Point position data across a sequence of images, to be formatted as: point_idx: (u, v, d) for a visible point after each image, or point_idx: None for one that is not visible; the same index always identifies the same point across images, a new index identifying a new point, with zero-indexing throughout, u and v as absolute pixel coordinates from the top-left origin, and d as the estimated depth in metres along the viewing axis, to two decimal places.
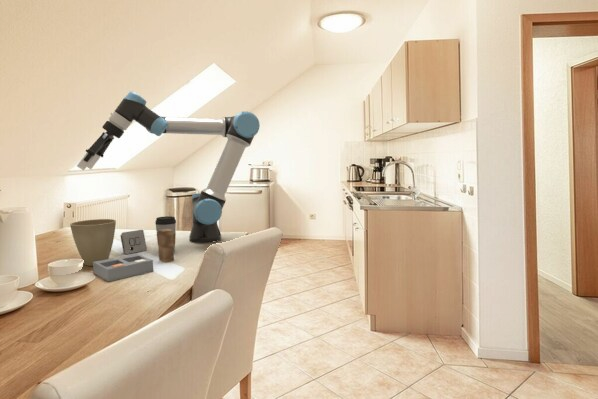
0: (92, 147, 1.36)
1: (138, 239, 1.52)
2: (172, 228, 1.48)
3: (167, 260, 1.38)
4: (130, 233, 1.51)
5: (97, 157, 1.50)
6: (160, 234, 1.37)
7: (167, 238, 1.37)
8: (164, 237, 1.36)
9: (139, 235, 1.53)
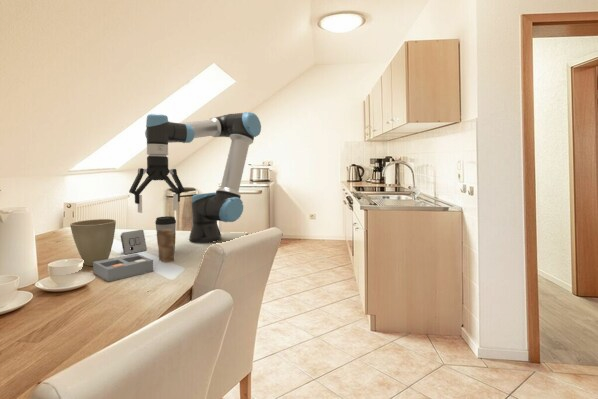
0: None
1: (138, 239, 1.52)
2: (172, 228, 1.48)
3: (167, 260, 1.38)
4: (130, 233, 1.51)
5: None
6: (160, 234, 1.37)
7: (167, 238, 1.37)
8: (164, 237, 1.36)
9: (139, 235, 1.53)
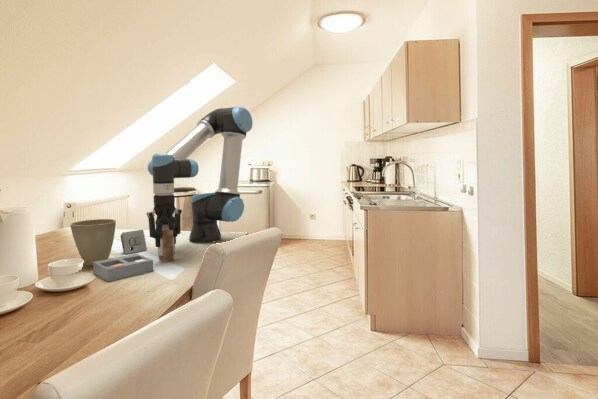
0: None
1: (138, 239, 1.52)
2: None
3: (167, 260, 1.38)
4: (130, 233, 1.51)
5: None
6: None
7: (167, 237, 1.37)
8: (164, 237, 1.36)
9: (139, 235, 1.53)
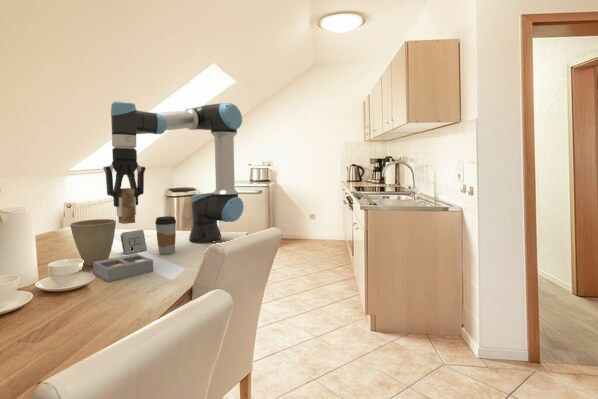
0: None
1: (138, 239, 1.52)
2: (172, 228, 1.48)
3: (127, 222, 1.23)
4: (130, 233, 1.51)
5: None
6: (120, 193, 1.22)
7: (127, 196, 1.22)
8: (124, 196, 1.22)
9: (139, 235, 1.53)
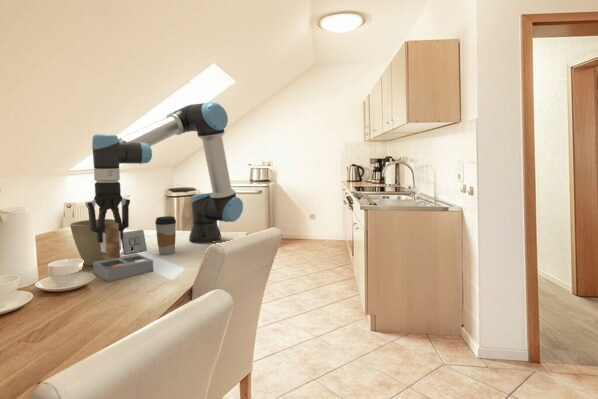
0: None
1: (138, 239, 1.52)
2: (172, 228, 1.48)
3: (111, 257, 1.19)
4: (130, 233, 1.51)
5: None
6: (103, 228, 1.19)
7: (111, 231, 1.19)
8: (107, 231, 1.18)
9: (139, 235, 1.53)
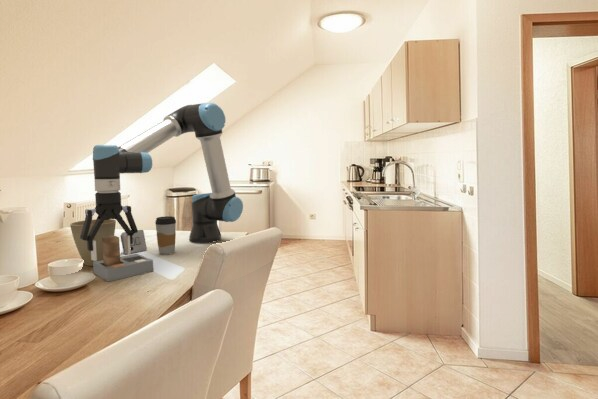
0: None
1: (138, 239, 1.52)
2: (172, 228, 1.48)
3: None
4: None
5: None
6: (104, 242, 1.19)
7: (111, 246, 1.19)
8: (108, 246, 1.18)
9: (139, 235, 1.53)
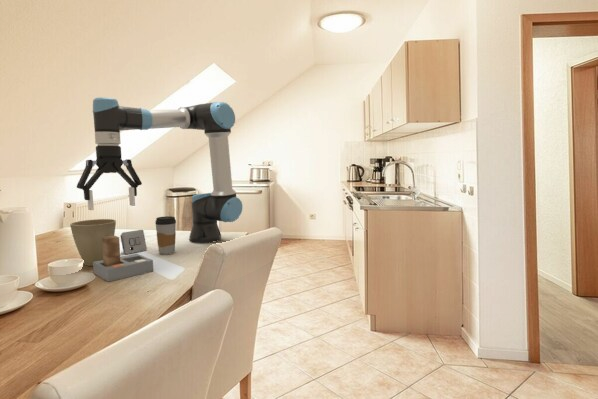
0: None
1: (138, 239, 1.52)
2: (172, 228, 1.48)
3: None
4: (130, 233, 1.51)
5: None
6: (104, 242, 1.19)
7: (111, 246, 1.19)
8: (108, 246, 1.18)
9: (139, 235, 1.53)
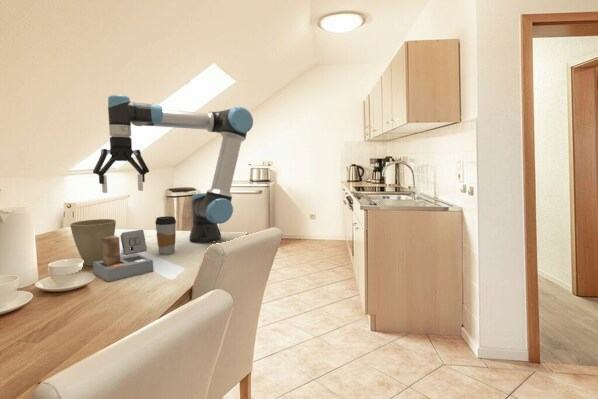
0: None
1: (138, 239, 1.52)
2: (172, 228, 1.48)
3: None
4: (130, 233, 1.51)
5: None
6: (104, 242, 1.19)
7: (111, 246, 1.19)
8: (108, 246, 1.18)
9: (139, 235, 1.53)
